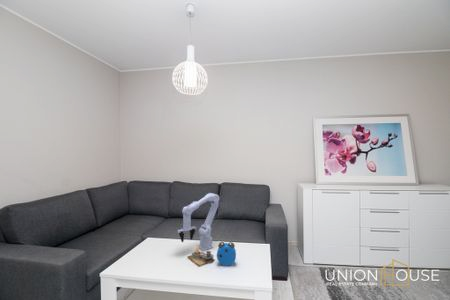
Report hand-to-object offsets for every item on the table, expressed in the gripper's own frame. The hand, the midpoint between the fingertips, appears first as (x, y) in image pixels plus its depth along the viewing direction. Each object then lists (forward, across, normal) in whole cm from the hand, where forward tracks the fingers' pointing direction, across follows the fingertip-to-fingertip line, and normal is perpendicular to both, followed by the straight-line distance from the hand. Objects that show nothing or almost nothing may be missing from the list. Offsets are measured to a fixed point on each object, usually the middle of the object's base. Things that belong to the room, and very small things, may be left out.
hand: (186, 240), depth 170 cm
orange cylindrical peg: (+9, -2, +12) cm, 15 cm away
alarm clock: (+10, -14, +31) cm, 35 cm away
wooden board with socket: (+10, -4, +14) cm, 18 cm away
